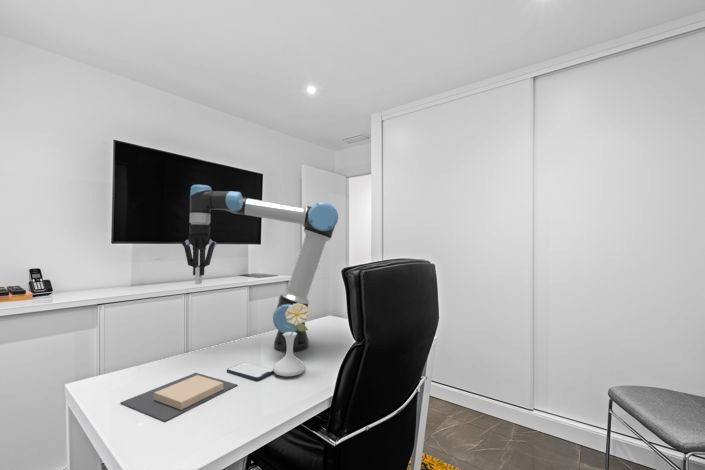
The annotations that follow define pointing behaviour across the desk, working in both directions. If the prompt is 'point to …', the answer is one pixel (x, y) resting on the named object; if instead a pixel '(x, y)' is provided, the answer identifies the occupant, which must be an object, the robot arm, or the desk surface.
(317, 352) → the desk surface
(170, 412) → the mat
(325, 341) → the desk surface
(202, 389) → the tile
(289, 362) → the flower in vase
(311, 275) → the robot arm
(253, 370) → the smartphone
